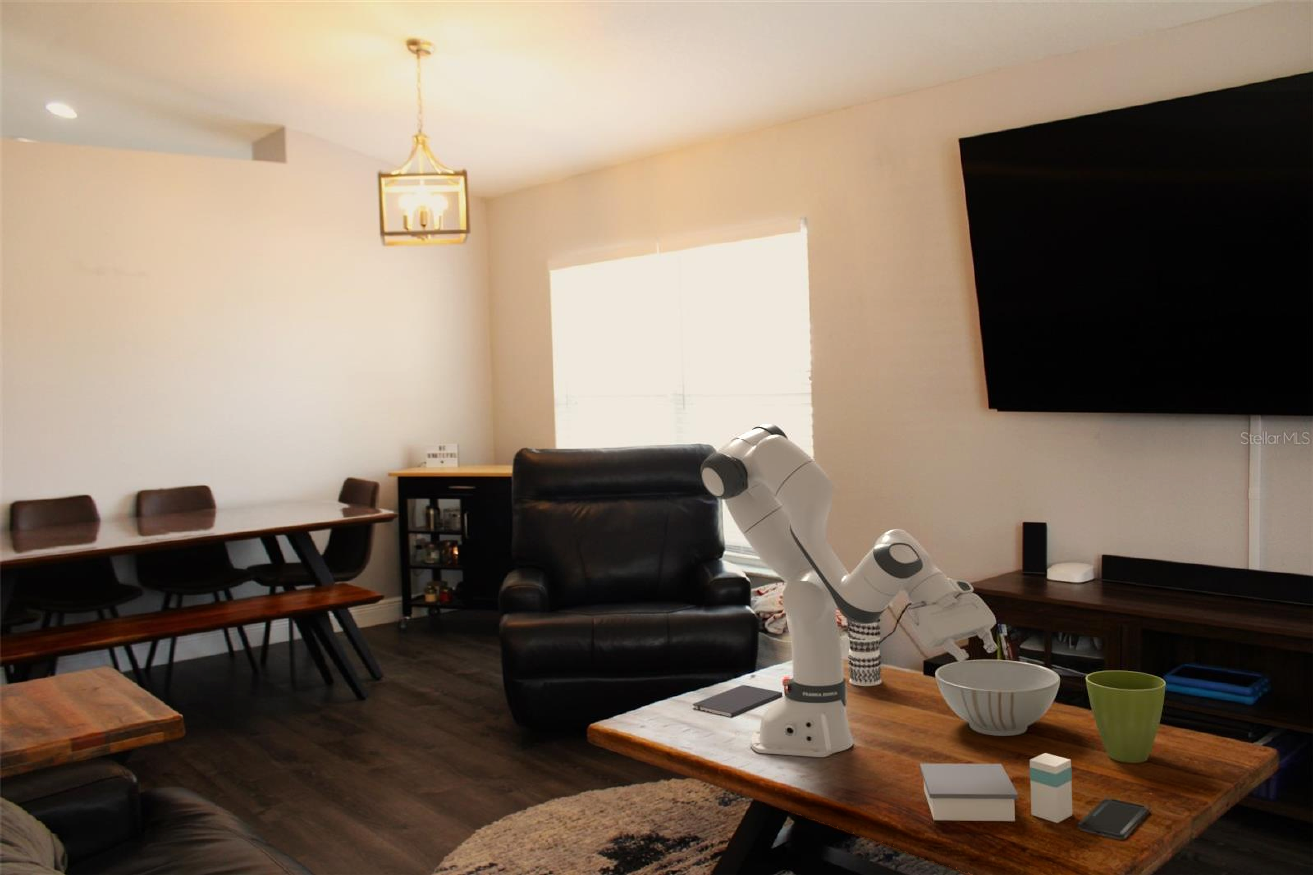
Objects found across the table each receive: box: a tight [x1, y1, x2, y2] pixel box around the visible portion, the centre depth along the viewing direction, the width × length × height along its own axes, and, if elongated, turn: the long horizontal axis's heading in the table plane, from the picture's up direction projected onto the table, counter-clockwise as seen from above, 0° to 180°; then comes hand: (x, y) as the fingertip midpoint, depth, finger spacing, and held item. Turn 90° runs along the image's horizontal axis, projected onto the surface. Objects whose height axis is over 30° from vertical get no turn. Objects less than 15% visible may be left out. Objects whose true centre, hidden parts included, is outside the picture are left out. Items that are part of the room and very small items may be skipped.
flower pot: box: [1085, 670, 1167, 764], centre depth 211 cm, size 15×15×16 cm
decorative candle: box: [845, 618, 883, 687], centre depth 274 cm, size 9×9×25 cm
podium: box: [919, 763, 1019, 822], centre depth 190 cm, size 15×15×5 cm
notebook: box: [692, 684, 783, 718], centre depth 261 cm, size 13×2×21 cm
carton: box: [1029, 752, 1073, 824], centre depth 184 cm, size 5×5×10 cm
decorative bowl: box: [934, 659, 1061, 737], centre depth 233 cm, size 27×27×12 cm
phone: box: [1077, 798, 1150, 840], centre depth 181 cm, size 8×1×15 cm
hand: (979, 655), depth 198 cm, fingers open, 8 cm apart
